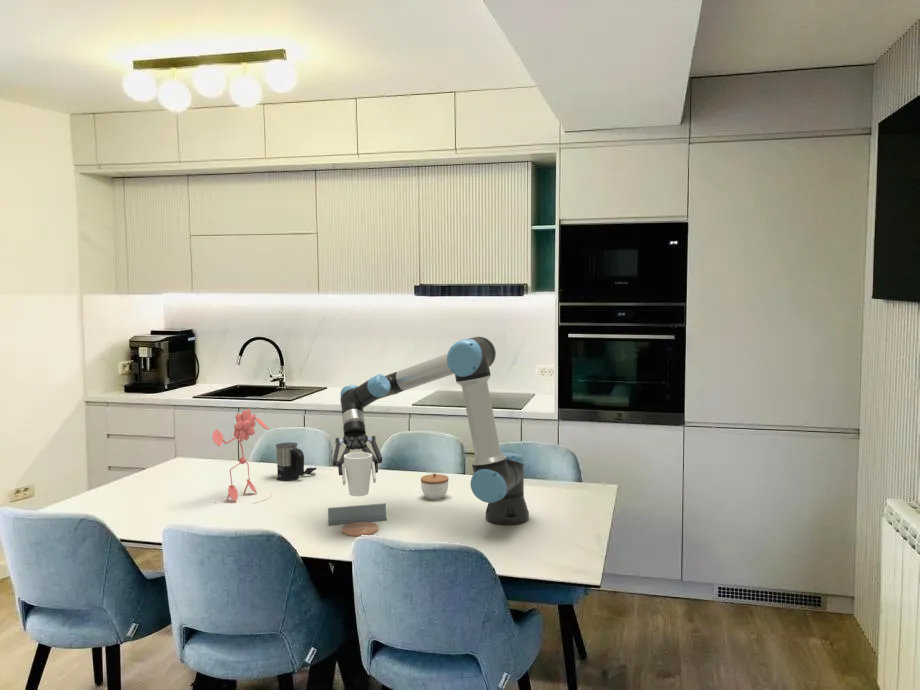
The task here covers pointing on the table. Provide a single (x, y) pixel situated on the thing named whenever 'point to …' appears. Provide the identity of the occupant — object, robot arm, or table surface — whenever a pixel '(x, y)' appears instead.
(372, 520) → the low wall
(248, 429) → the figurine
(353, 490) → the foam cup
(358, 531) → the terracotta coaster
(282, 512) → the table surface
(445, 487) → the lidded jar
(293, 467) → the milk frother
